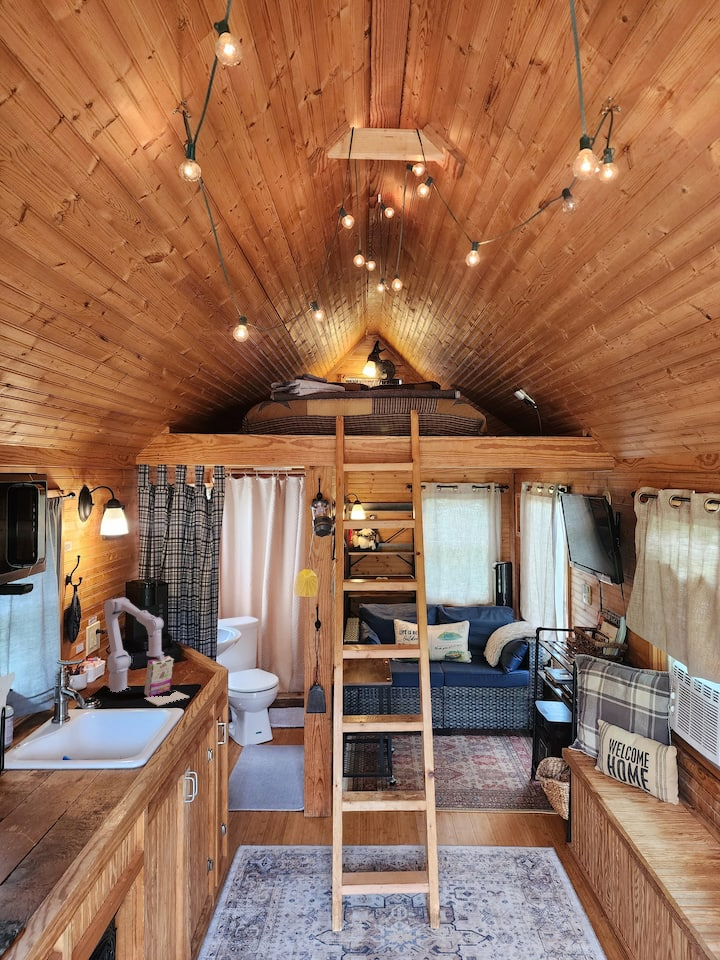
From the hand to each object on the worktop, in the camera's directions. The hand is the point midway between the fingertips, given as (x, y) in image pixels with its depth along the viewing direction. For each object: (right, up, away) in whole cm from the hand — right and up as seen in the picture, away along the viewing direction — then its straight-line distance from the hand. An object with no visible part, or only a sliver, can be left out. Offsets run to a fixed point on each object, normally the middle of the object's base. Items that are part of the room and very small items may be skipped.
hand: (155, 673), depth 271 cm
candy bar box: (+1, -9, -1) cm, 9 cm away
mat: (+8, -9, -9) cm, 15 cm away
